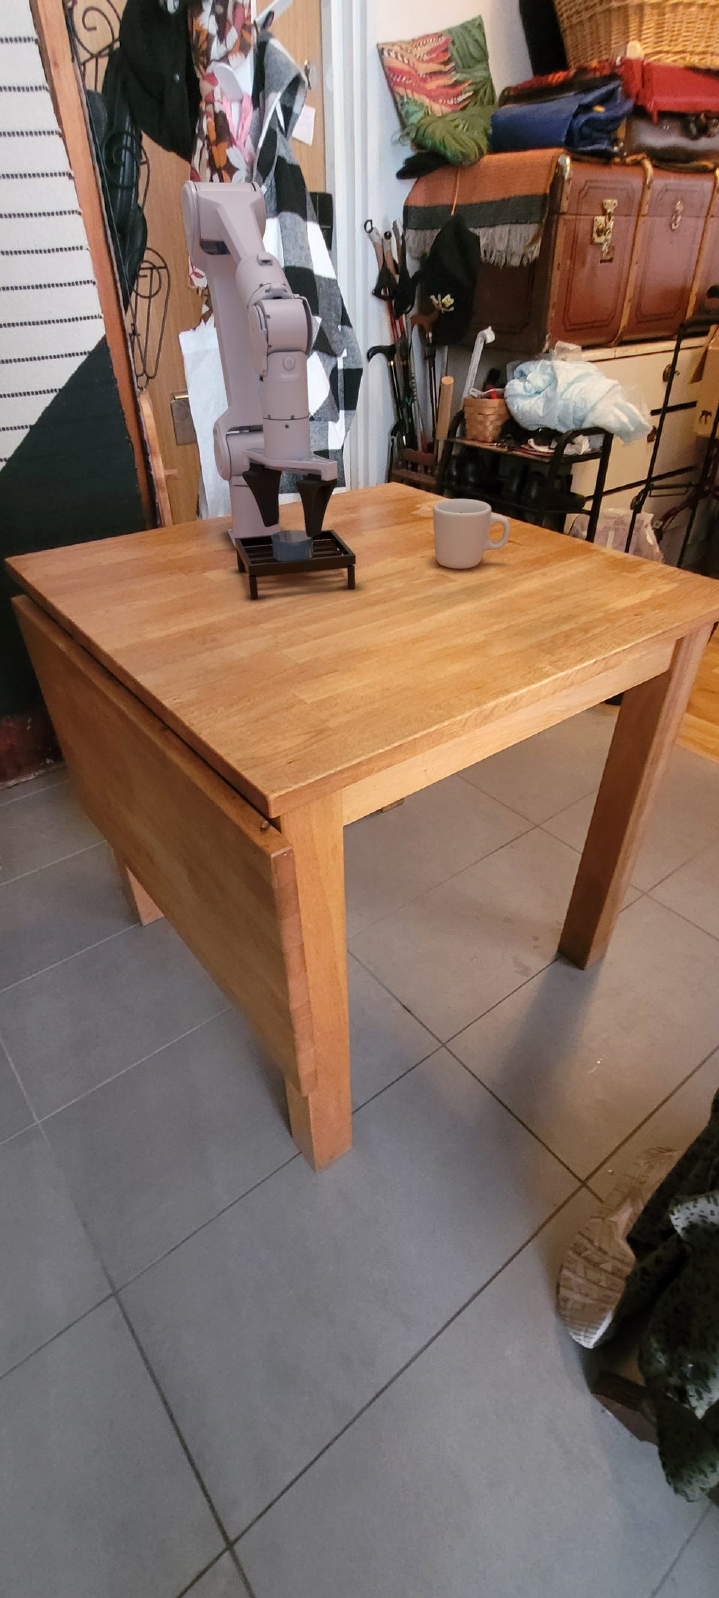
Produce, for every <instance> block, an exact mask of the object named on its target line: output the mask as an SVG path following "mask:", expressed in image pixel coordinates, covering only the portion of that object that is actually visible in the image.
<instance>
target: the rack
mask: <svg viewBox="0 0 719 1598" xmlns="http://www.w3.org/2000/svg"><path fill="white" fill-rule="evenodd" d="M271 536H272V535H264V536H253V537H242V538H235V546H234V548H235V547H236V548H235V550H236V561H237V571H238V573H245V572H247V573H248V586H249V596H250V599H251V600H255V601H256V600H258V599H259V589H258V579H257V578H264V577H272V576H273V577H275V576H283V575H293V574H303V573H314V572H322V571H323V572H325V571H333V570H343V569H346V571H347V572H346V574H347V589H348V590H354V589H356V564H357V556H356V554H355V553H354V552H353V550H352V549H351V548H350V547H349V546H348V545H347V544H346V543H345V541H344V540H343V539H342V537H340V535H338V533H337V532H336V531H335V530H334V529H323V530H321V534H320V535H317V536H314V537H313V550H314V555H313V557H312V558H309V559H299V560H288V561H279V560H276V559H274V558H273V553H272V540H271ZM262 545H266V546H262ZM251 546H255V547H251Z"/></svg>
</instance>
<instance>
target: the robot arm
mask: <svg viewBox="0 0 719 1598" xmlns="http://www.w3.org/2000/svg"><path fill="white" fill-rule="evenodd" d="M181 208H182V209H181V210H182V220H183V226H184V227H183V228H184V233H185V239H186V244H187V245H186V246H187V252H188V255H189V256H190V261H191V265H192V266H193V267H195V268H197V270H200V271H201V272H202V273H204V276H205V279H206V283H207V286H208V291H209V295H210V301H211V306H212V313H213V320H214V326H215V332H216V339H217V344H218V345H217V346H218V351H219V358H220V364H221V370H222V375H223V383H224V390H225V396H226V401H227V408H226V410H225V411H224V412H223V413H222V414H221V415H220V416H219V417H218V418H217V419H216V420H215V421H214V423H213V427H212V437H213V456H214V462H215V466H216V471H217V473H218V474H219V477H221V479H222V480H223V481H227V482H228V489H229V498H230V500H229V501H230V508H231V509H230V510H231V519H232V528H229V529H227V534H228V535H229V538H230V540H231V542H232V544H233V546H234V548H235V549H236V547H235V538H242V537H253V536H264V535H273V534H274V533H277V532H280V531H281V517H280V502H279V501H280V499H279V497H280V485H281V479H282V476H283V475H284V474H285V472H286V473H292V474H295V475H296V474H297V475H303V476H307V478H302V479H299V480H296V481H295V487H296V489H297V491H298V495H299V497H300V501H301V505H302V509H303V518H304V519H303V520H304V531H306V534H307V537H314V536H317V535H320V534H321V530H322V529H323V524H324V519H325V515H326V511H327V507H328V504H329V502H330V499H331V497H332V495H333V492H334V490H335V488H336V487H337V486H338V475H339V474H338V461H337V460H332V459H329V458H325V457H323V456H319V455H317V454H315V451H314V450H311V433H310V431H311V430H310V408H309V407H310V406H309V405H310V404H309V383H308V382H309V381H308V379H309V378H308V362H307V361H308V359H307V356H309V355H310V354H311V352H312V349H313V346H314V345H313V344H314V322H313V314H312V309H311V306H310V304H309V302H308V299H307V297H306V296H300V294H299V293H293V291H292V288H291V286H290V283H289V281H288V279H287V277H286V274H285V272H284V270H283V268H282V266H281V263H280V261H279V259H278V258H277V257H276V256H275V255H274V254H272V253H271V252H269V251H266V247H265V244H264V236H265V234H266V229H267V208H266V200H265V196H264V193H263V190H262V188H261V187H260V186H259V184H258V182H257V181H250V182H217V181H215V182H213V181H193V180H191V179H187V180H186V181H185V183H184V184H183V186H182V190H181ZM257 374H258V375H257ZM258 379H259V383H258ZM262 546H266V545H262ZM251 547H255V546H251Z"/></svg>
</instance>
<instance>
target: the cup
mask: <svg viewBox="0 0 719 1598" xmlns="http://www.w3.org/2000/svg"><path fill="white" fill-rule="evenodd" d="M432 521H433V541H434V555H435V559H436V561H437V563H438V564H440V565H441V566H443V567H445V568H447V569H449V568H450V569H456V570H463V569H471V568H474V567H477V566H478V565H479V564H480V563H481V561H482V559H483V556H484V553H485V552H486V551H496V550H501V549H502V548H504V546H506V544H507V543H508V540H509V538H510V535H511V525H510V522H509V519H508V518H506V517H505V516H504V515H502V514H499V513H495V512H492V507H491V505H490V504H489V503H487V502H486V501H481V500H478V499H469V498H451V499H450V498H449V499H444V500H440V501H438V502H436V503H434V504H433V506H432ZM497 523H499V524H501V525H502V526H503V534H502V537H501V539H500V540H498V541H497V542H496V541H495V542H493V541H492V540H491V538H490V531H491V528H492V527H493V525H494V524H497Z"/></svg>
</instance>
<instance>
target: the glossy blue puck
mask: <svg viewBox="0 0 719 1598" xmlns="http://www.w3.org/2000/svg"><path fill="white" fill-rule="evenodd" d="M271 540H272V553H273V558H274V559H276V560H279V561H288V560H299V559H309V558H312V557H313V555H314V550H313V537H307V534H306V530H303V529H302V530H301V529H287V530H286V529H285V530H280V532H277V533H274V534H273V535H272V536H271Z"/></svg>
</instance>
